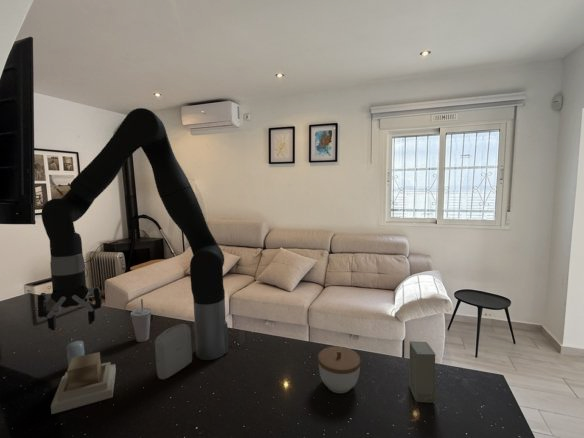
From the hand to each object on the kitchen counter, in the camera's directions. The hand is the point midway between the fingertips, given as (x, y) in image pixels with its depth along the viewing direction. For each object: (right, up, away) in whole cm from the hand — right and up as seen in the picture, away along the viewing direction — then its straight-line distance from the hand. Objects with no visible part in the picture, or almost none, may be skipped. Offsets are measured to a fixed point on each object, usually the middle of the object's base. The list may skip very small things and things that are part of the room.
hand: (72, 326), depth 85 cm
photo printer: (+29, -13, 0) cm, 32 cm away
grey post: (0, -12, +1) cm, 12 cm away
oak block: (+10, -11, -9) cm, 17 cm away
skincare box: (+94, -13, -11) cm, 95 cm away
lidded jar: (+74, -13, -7) cm, 76 cm away
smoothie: (+11, -11, +17) cm, 23 cm away
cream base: (+10, -13, -8) cm, 18 cm away
